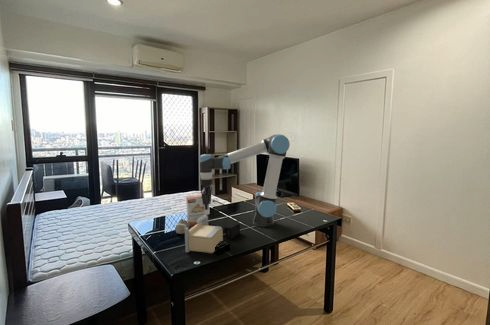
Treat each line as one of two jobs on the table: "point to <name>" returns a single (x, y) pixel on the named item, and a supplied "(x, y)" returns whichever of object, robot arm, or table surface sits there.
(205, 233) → the lid
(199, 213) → the cracker box
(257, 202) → the robot arm
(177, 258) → the table surface
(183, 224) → the ceramic sculpture
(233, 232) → the digital camera
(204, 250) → the carton
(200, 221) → the bar
